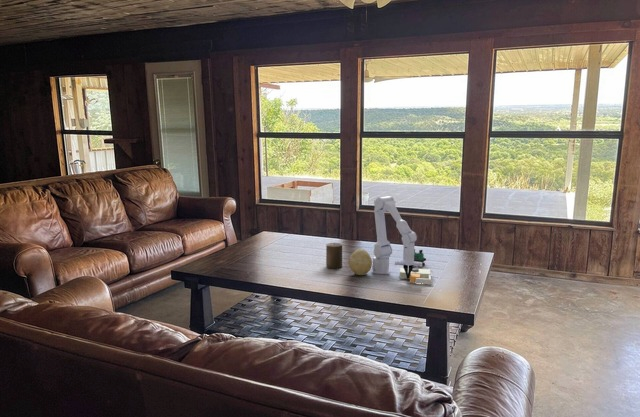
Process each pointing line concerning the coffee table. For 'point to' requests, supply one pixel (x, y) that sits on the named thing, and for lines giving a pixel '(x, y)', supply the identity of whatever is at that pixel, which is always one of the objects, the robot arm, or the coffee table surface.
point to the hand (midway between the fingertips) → (407, 278)
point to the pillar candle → (334, 255)
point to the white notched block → (424, 273)
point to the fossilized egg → (360, 262)
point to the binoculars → (419, 257)
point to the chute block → (414, 277)
